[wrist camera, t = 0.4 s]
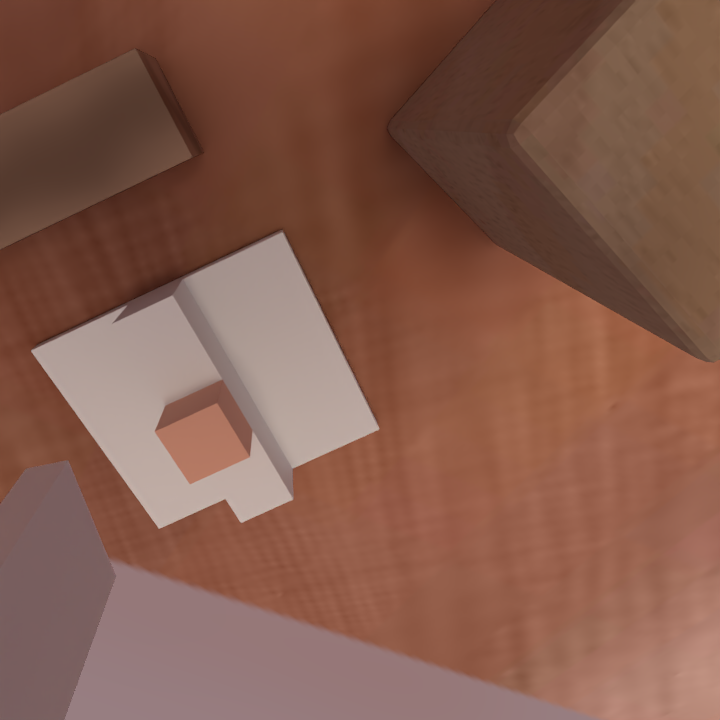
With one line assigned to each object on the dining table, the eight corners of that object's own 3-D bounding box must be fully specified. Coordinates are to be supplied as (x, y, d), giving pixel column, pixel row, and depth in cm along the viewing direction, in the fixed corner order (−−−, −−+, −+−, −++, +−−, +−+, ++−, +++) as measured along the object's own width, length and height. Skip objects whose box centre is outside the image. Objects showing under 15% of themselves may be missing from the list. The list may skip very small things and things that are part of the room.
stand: (37, 344, 36) (-22, 398, 29) (282, 229, 35) (282, 255, 28) (161, 519, 41) (137, 600, 34) (377, 422, 40) (397, 484, 33)
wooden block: (498, 248, 37) (716, 374, 18) (382, 127, 34) (504, 134, 15) (623, 120, 35) (1005, 117, 17) (513, -21, 32) (836, -221, 13)
